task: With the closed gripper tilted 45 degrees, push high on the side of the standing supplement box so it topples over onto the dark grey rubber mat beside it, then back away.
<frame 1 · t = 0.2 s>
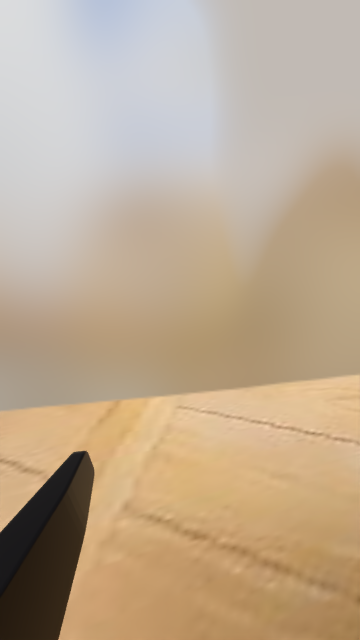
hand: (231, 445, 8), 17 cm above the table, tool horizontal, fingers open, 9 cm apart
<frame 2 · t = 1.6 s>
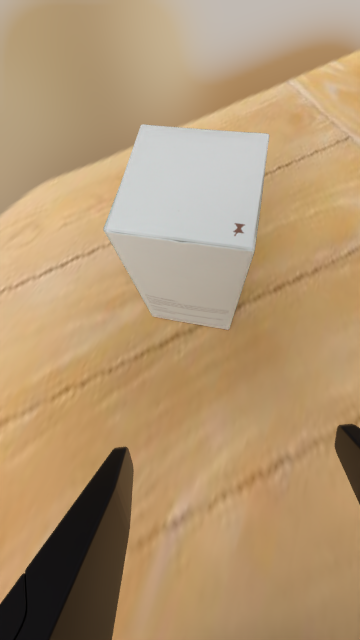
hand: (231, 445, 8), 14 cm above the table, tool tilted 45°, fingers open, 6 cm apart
supplement box: (196, 288, 26), on the table, touching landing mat
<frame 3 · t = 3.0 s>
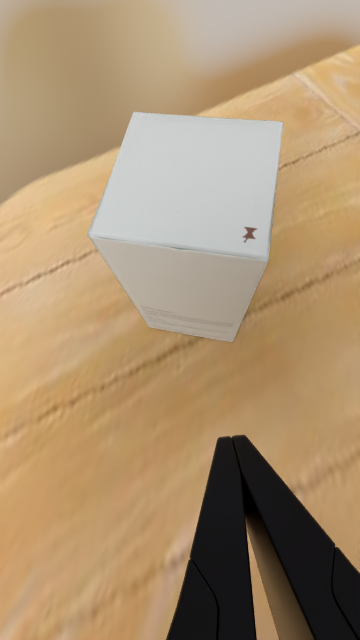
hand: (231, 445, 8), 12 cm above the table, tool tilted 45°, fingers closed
supplement box: (197, 296, 23), on the table, touching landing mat
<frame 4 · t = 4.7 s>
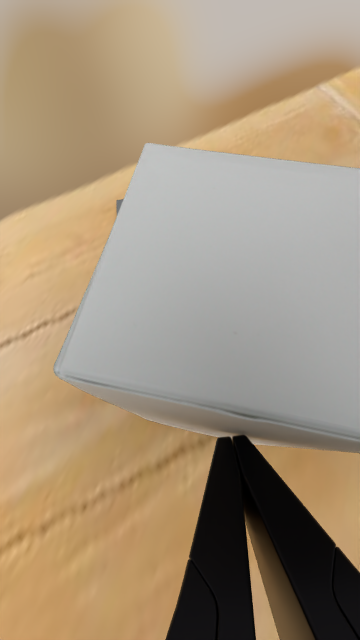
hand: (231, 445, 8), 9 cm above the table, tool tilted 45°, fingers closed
supplement box: (209, 374, 18), on the table, touching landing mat
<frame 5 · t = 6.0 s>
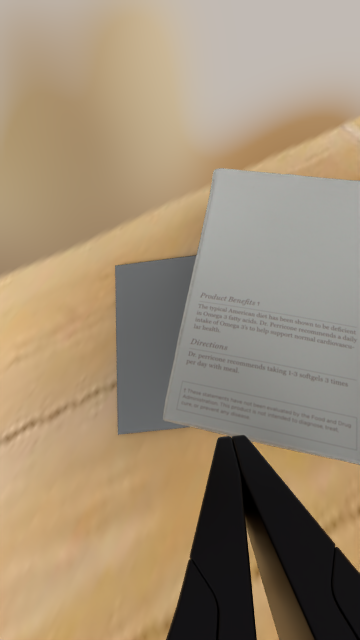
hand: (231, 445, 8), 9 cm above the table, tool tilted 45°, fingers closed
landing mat: (203, 331, 19), on the table
supplement box: (242, 442, 13), point 4 cm above the table, touching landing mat
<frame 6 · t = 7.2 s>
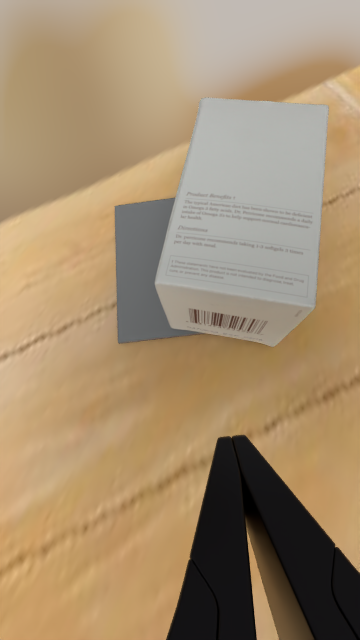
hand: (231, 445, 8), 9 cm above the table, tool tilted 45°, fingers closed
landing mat: (193, 260, 21), on the table
supplement box: (222, 325, 15), point 4 cm above the table, touching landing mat
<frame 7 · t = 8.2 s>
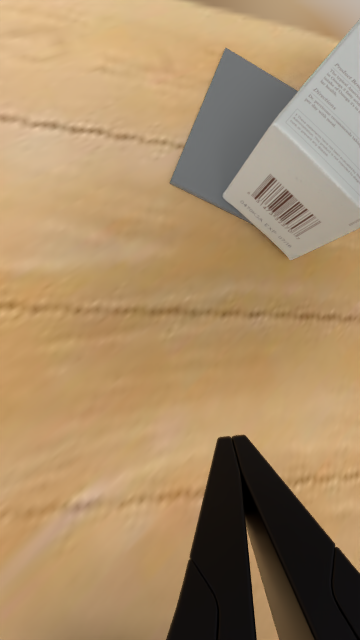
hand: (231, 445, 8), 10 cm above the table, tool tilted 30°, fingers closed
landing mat: (266, 152, 21), on the table
supplement box: (279, 210, 17), point 4 cm above the table, touching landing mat
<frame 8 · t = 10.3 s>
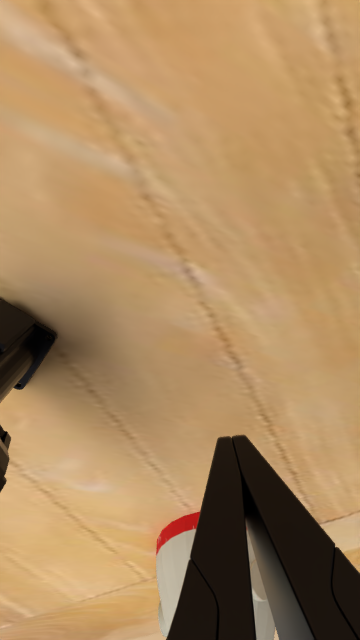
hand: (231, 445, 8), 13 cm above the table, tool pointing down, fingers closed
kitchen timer: (212, 542, 34), on the table
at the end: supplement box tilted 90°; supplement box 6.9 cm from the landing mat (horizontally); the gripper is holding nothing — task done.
